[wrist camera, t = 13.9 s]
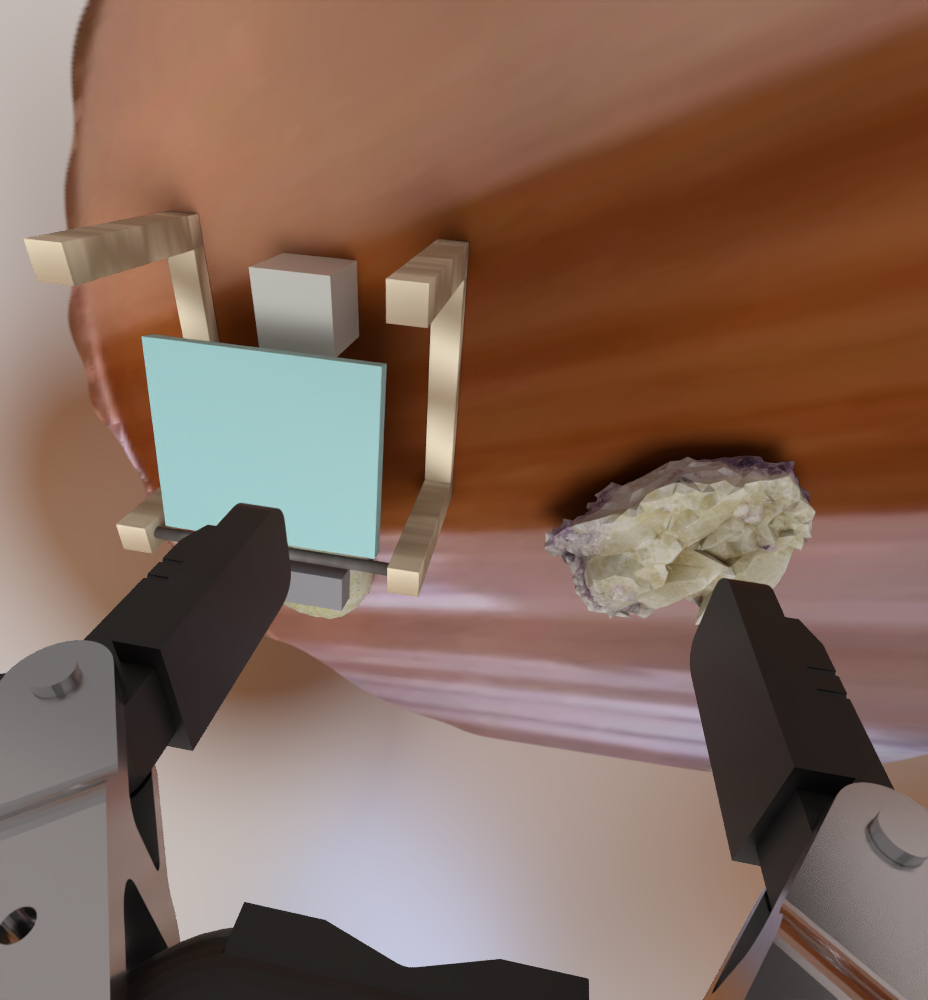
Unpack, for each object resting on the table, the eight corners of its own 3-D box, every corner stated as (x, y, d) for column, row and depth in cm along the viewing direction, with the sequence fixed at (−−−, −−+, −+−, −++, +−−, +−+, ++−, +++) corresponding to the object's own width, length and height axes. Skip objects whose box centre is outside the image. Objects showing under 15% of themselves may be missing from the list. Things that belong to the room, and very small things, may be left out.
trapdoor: (378, 602, 39) (371, 615, 37) (183, 570, 40) (169, 582, 38) (388, 362, 32) (380, 367, 31) (156, 333, 33) (137, 336, 32)
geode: (778, 489, 47) (675, 372, 40) (877, 541, 38) (767, 404, 32) (633, 633, 50) (515, 545, 43) (697, 712, 41) (562, 616, 35)
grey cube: (291, 327, 41) (284, 252, 38) (359, 336, 40) (357, 260, 37) (259, 349, 36) (248, 267, 34) (334, 359, 36) (330, 276, 33)
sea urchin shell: (246, 531, 49) (278, 573, 43) (330, 496, 53) (369, 530, 47) (277, 611, 54) (310, 658, 48) (352, 573, 57) (391, 613, 51)
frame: (169, 211, 38) (23, 238, 28) (469, 242, 36) (429, 283, 26) (217, 462, 48) (123, 548, 38) (451, 496, 46) (418, 597, 36)
